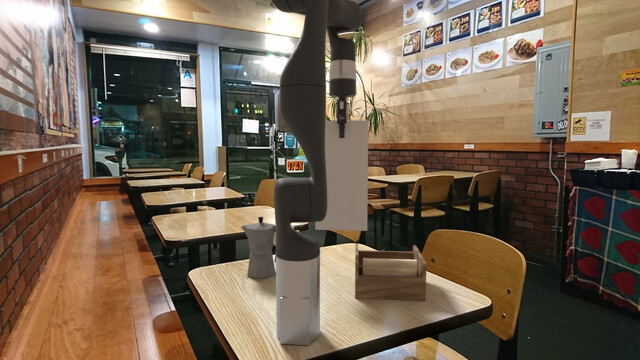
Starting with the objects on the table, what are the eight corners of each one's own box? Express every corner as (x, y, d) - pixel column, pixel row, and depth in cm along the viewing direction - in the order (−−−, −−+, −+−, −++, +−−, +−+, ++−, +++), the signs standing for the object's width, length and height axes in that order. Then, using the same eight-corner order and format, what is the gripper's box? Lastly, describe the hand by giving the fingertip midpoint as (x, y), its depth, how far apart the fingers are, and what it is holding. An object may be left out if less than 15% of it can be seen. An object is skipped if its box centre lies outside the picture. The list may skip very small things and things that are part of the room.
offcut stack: (416, 298, 94) (417, 261, 93) (362, 295, 95) (363, 259, 94) (413, 292, 98) (414, 256, 97) (362, 290, 99) (362, 254, 98)
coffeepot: (235, 277, 108) (234, 218, 107) (248, 266, 118) (247, 212, 116) (283, 281, 105) (283, 221, 103) (293, 270, 114) (292, 215, 113)
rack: (425, 301, 92) (426, 263, 91) (355, 298, 94) (355, 261, 93) (414, 277, 108) (415, 245, 107) (355, 275, 110) (355, 243, 109)
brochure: (366, 228, 102) (367, 124, 103) (367, 230, 97) (368, 120, 97) (317, 227, 103) (318, 124, 104) (315, 229, 98) (316, 120, 99)
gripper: (356, 73, 92) (355, 140, 94) (356, 83, 107) (355, 140, 108) (327, 74, 93) (327, 140, 95) (331, 83, 107) (330, 140, 109)
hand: (342, 140), depth 101 cm, fingers closed on brochure, 5 cm apart
